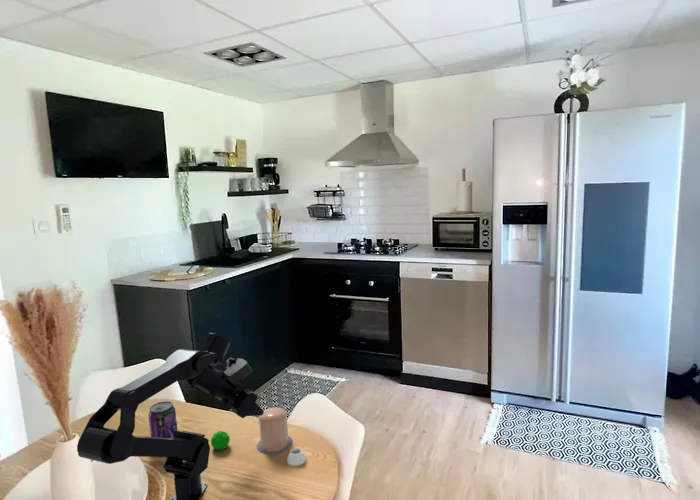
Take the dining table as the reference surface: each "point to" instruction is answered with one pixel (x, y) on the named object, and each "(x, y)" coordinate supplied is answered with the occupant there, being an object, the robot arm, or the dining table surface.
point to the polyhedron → (220, 440)
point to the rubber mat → (276, 451)
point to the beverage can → (162, 419)
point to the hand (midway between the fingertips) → (254, 407)
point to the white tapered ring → (296, 457)
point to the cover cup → (273, 429)
